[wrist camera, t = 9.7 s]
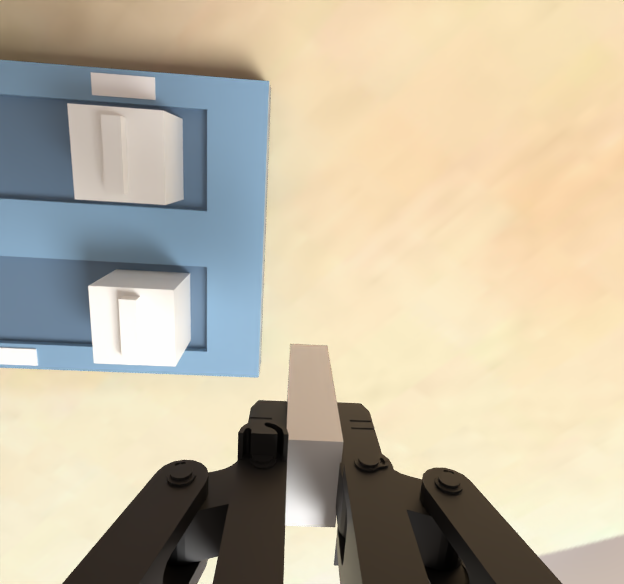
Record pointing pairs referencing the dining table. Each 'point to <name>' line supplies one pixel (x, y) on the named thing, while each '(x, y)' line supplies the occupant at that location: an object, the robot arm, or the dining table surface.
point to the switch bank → (131, 217)
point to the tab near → (126, 154)
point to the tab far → (140, 317)
